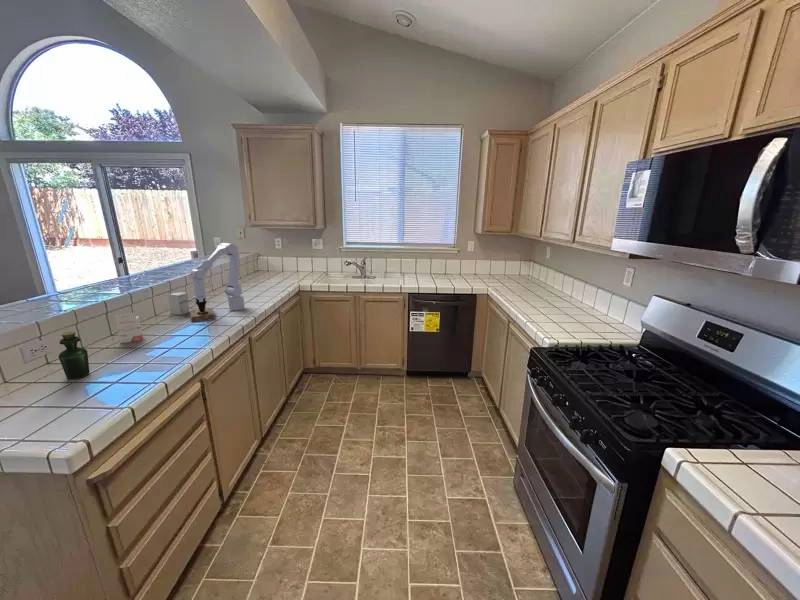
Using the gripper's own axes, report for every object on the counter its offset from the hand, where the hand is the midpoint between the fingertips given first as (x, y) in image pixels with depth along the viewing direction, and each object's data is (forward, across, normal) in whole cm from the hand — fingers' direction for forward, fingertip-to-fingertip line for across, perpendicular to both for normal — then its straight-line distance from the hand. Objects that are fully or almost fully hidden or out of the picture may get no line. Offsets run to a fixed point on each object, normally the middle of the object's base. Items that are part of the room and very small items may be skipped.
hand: (202, 310), depth 202 cm
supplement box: (+5, -17, -12) cm, 21 cm away
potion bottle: (+5, +60, -45) cm, 75 cm away
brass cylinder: (+5, 0, 0) cm, 5 cm away
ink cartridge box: (+5, +25, -32) cm, 41 cm away
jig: (+5, -2, 0) cm, 5 cm away
